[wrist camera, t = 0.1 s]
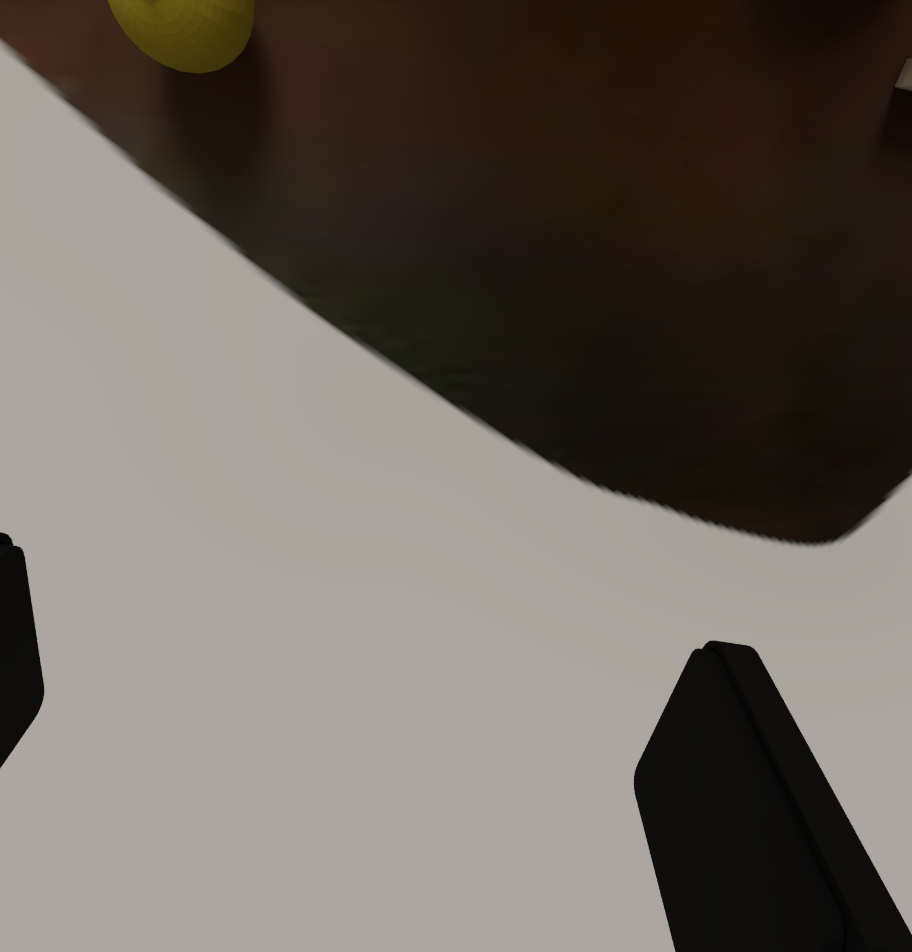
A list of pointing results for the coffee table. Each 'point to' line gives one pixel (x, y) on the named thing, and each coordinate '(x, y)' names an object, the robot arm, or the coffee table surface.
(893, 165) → the coffee table surface
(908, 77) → the corral
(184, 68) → the lemon
